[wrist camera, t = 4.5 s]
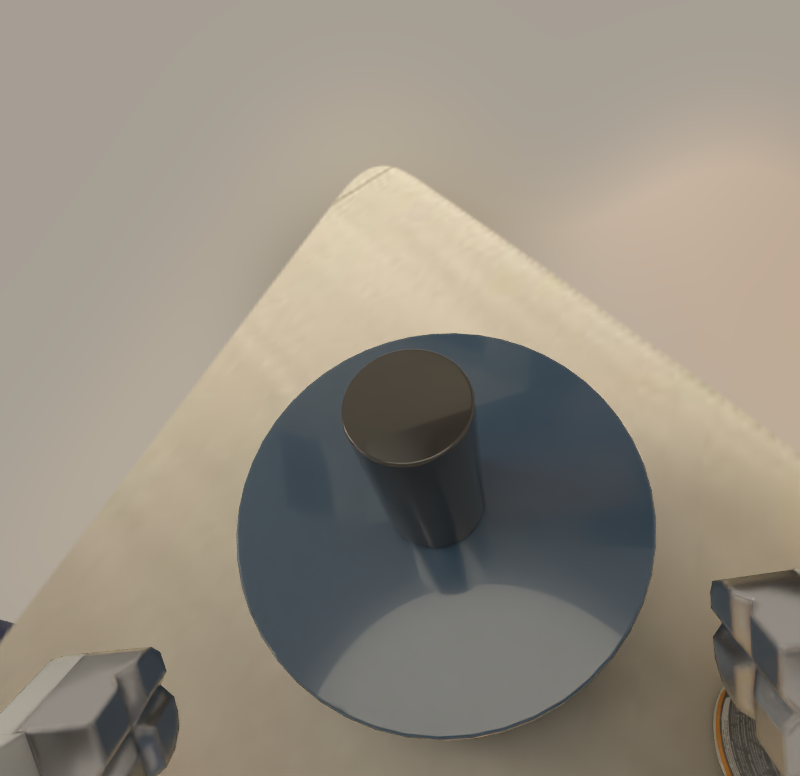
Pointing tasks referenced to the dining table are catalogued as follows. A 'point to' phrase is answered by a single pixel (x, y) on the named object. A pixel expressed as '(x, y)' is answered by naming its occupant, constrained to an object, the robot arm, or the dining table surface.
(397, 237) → the dining table surface
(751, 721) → the pill bottle
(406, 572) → the lid
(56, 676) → the robot arm
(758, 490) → the dining table surface
